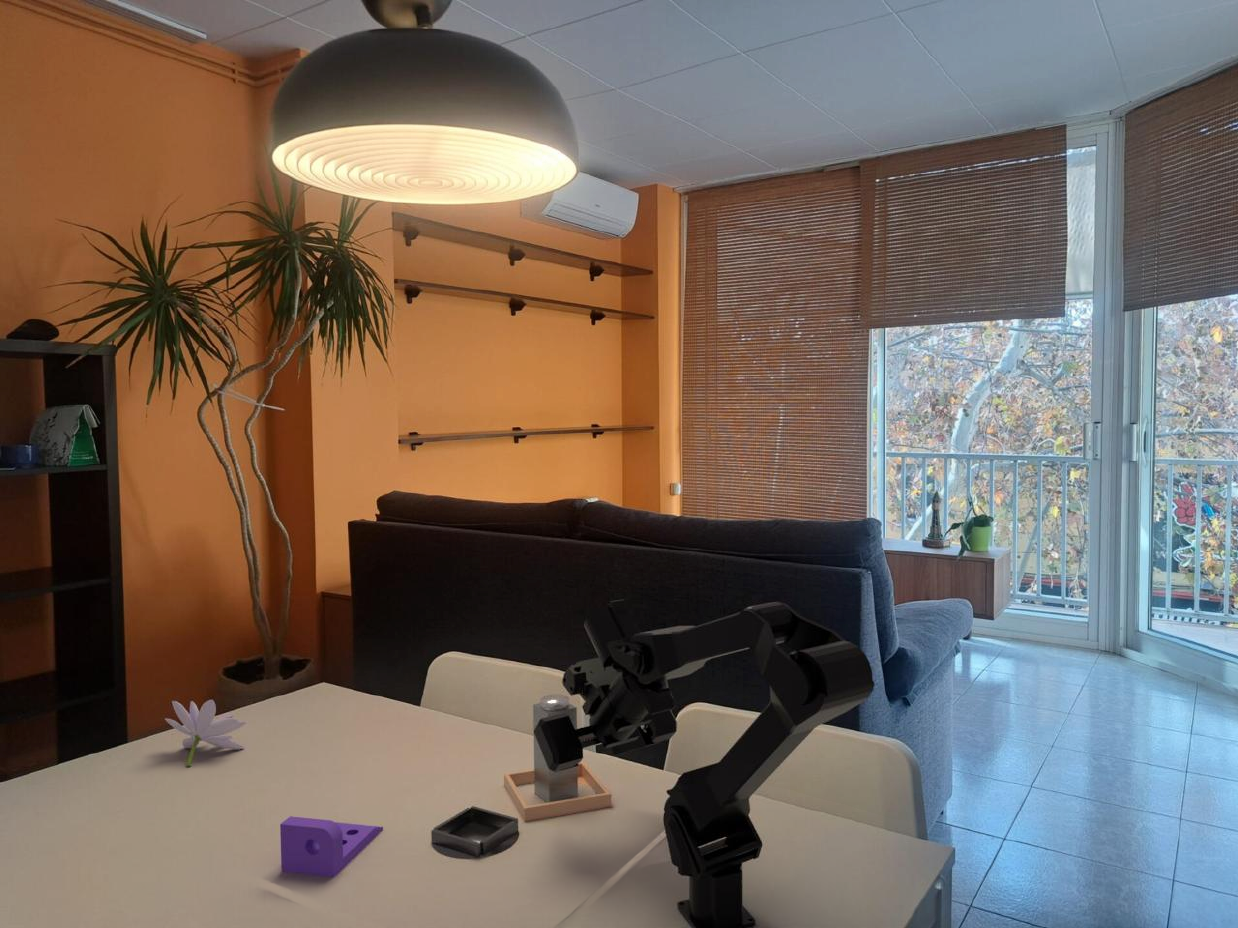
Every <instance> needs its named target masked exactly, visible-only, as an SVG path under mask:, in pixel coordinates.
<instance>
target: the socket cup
mask: <svg viewBox="0 0 1238 928" xmlns="http://www.w3.org/2000/svg"><path fill="white" fill-rule="evenodd" d="M519 831H520V830H519V818H516V817H514V816H511V815H508V814H507V815H506V814H503V813H499V812H496V811H492V810H489V809H485V808H481V807H477V806H474V805H473V806H471V807H467V808H464V809H463V810H462V811H460V812H458V813H456V814H455V815H454V816H451V817H449V818H448V819H446V820H445V821H443V822H441V823H439V824H438V825H437V826H435V827H433V829H431V834H430V835H431V837H430V838H431V842H430V843H431V846H432V848H433V849H434V851H436V852H437V853H438V854H440V855H442V856H445V857H448V858H454V859H458V860H474V859H475V860H476V859H483V858H487V857H493V856H496V855H499V854H501V853H503V852H505V851H507V850H508V849H510V848H512V847H513V846H514V845H515V844H516V843H517V841H518V839H519V837H520V832H519Z"/></svg>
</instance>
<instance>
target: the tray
mask: <svg viewBox="0 0 1238 928" xmlns="http://www.w3.org/2000/svg"><path fill="white" fill-rule="evenodd" d="M533 783H534V768H532V769H527V770H519V771H514V772H513V771H512V772H507V773H503V787H504V788H505V790H506V792H507V793H508V795H509V796H510V798H511V800H512V802H513V804H514V805H515V807H516V809H517V810H518V812H519V814H520V816H521V818H522V820H523V821H524V822H532V821H535V820H543V819H548V818H552V817H558V816H565V815H570V814H571V815H572V814H576V813H581V812H588V811H592V810H593V811H594V810H599V809H605V808H609V807H612V793H611V791H610V790H609V789H608V788H607V787H606V786H605V784H604V783H603V782H602V780H601V779H599V778H598V776H597V775H596V774H595V772H594V771H593V770H592V769H591V768H590V767H589V765H588V764H587V763H586V762H585V761H583V760H582V761H581V762H579V763H578V785H582V786H586V787H589V788H591V789H592V790H593V791H594V792H595V794H592V795H586V796H578V798H572V799H567V800H561V801H555V802H549V803H546V802H544V803H537V804H532V805H528V804H527V801H525V799H524V797H523V796H522V794H521V792H520V791H519V789H518V788H517V786H520V785H521V786H522V785H526V784H533Z"/></svg>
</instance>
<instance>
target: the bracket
mask: <svg viewBox="0 0 1238 928" xmlns="http://www.w3.org/2000/svg"><path fill="white" fill-rule="evenodd" d="M279 825H280V826H279V827H280V856H281V857H280V861H281V862H280V863H281V865H280V866H281V867H280V868H281V869H280V870H281V872H283V873H289V874H290V873H291V874H292V873H293V874H299V875H300V874H301V875H309V876H317V877H318V876H319V877H326V878H336V876H337V875H339V873H341V872H342V871H343V870H344V869H345V867H347V866H348V865H349V864H350V863H351V862H352V861H353V860H354V859H355V858H356V857H357V856H358V855H359V854H360V853H361V852H362V851H364V849H365V848H366V847H367V846H369V844H370V843H371V842H372V841H374V839H375V838H376V837H377V836H379V834H380V833H381V832H382V831H383V830H384V827H383V826H376V825H368V824H366V825H365V824H357V823H347V822H338V821H333V820H330V819H323V818H313V817H311V818H310V817H303V816H302V817H301V816H291V815H290V816H289V817H287V818H286V819H284V820H283V821H282V822H281V823H280V824H279Z"/></svg>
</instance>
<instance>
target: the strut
mask: <svg viewBox="0 0 1238 928" xmlns="http://www.w3.org/2000/svg"><path fill="white" fill-rule="evenodd" d="M539 701H540V703H535V704H532V713H533V714H532V716H533V718H532V721H533V722H532V723H533V726H532V727H533V730H534V729H535V727H536V725H537V723H538V722H539V720H540V719H542V718H546V717H550V716H554V715H558V714H562V713H565V714H567V715H568V716H569V717H570V719H571V722H572V724H573V726H574V728H575V729H578V715H577V714H578V713H577V712H578V711H577V710H578V709H577V708H578V707H577V706H575V705H573V704H571V703H570V698H569V697H568V696H567V695H564V694H558V693H557V694H547V695H544V696H541V698H540V699H539ZM533 769H534V786H533V787H534V795H536V796H537V797H538V798H539V799H541V800H542V801H544V803H549V802H555V801H561V800H567V799H572V798H578V797H579V784H578V766H577V767H573V768H570V769H566V770H563V771H560V772H556V773H555V772H554V771H552V770H550V769H548V766H547V764H546V761H545V759H544V756H543V754H542V751H541V749H540V747H539V744H538V742H537V739H536V737H535V734H534V733H533Z"/></svg>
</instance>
